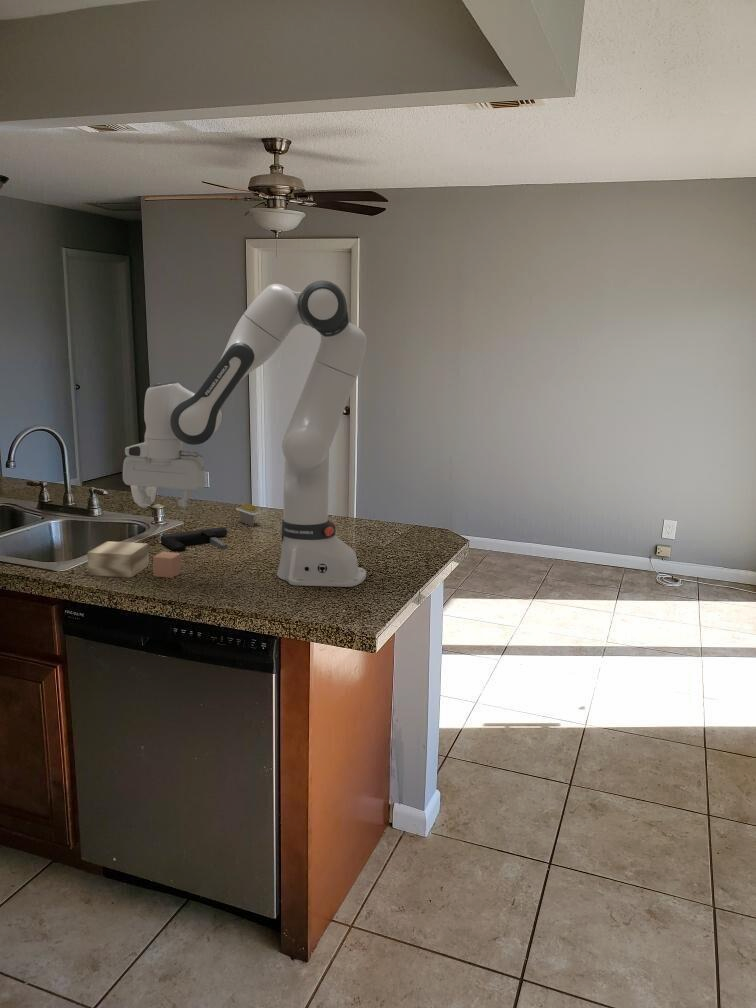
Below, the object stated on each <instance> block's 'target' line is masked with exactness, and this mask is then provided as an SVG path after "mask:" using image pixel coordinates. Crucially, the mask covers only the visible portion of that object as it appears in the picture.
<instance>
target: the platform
mask: <svg viewBox="0 0 756 1008" xmlns="http://www.w3.org/2000/svg"><path fill="white" fill-rule="evenodd" d="M256 508H257V507H256V505H254V504H250V503H248V502H244V503H241V506H238V507H235V509H236V510H237V511H239V513H240V514H239V515H240V516H239V522H240V523H242V524H244V523H245V524H244V525H247V524H248V525H247V526H249V527H252V526H253V528H254V526H255V524H254V523H255V522H254V521H255V520H254V519H255V517H254V516H255V515H257V514H260V510H259V509H256Z"/></svg>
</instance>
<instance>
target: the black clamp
mask: <svg viewBox="0 0 756 1008" xmlns="http://www.w3.org/2000/svg"><path fill="white" fill-rule="evenodd" d="M227 535H228V531H227V528H226V527H222V526H221V527H220V526H219V527H213V528H211V527H210V528H205V529H197V530H190V531H188V530H187V531H182V532H174V533H172V532H171V533H167V534H162V535H161V536H160V538H159V541H160V543H161V544H162V545H163V546H164V545H165V546H166V547H168V548H169V549H170V550H171V551H172V552H173V553H181V552H184V551H185V550H186V548H188V547H194V546H200V545H209V544H210V545H212V546H214V547H216V548H217V549H220V550H228V544H227V543H225V542H224V541H223V540H220V538H224V537H226V536H227Z"/></svg>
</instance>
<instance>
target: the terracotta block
mask: <svg viewBox="0 0 756 1008" xmlns="http://www.w3.org/2000/svg"><path fill="white" fill-rule="evenodd" d="M152 565H153V566H152V569H153V575H152V576H153V577H157V578H158V577H159V578H169V579H170V578H171V579H173V578H175V577H176V576H178V575H179V574H181V573H182V554H181V552H171V551H170V552H169V551H167V552H166V551H162V552H159V553H158V554H156V555H154V556H152ZM174 576H175V577H174Z"/></svg>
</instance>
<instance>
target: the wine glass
mask: <svg viewBox="0 0 756 1008" xmlns="http://www.w3.org/2000/svg"><path fill="white" fill-rule="evenodd" d="M157 489H158V488H157V487H147V489H145V491H146V493H147V495H148V496H151V503H150V504H142V497H141V495H140V494H139V492H138V490H137V486H134V485H130V490H131V496H132V499H133V500H134V503H135V504H137V505H138V507H140V508H144V509H146V508H148V507H150V505H151V504H153V503H154V502H155V498H156V495H157Z"/></svg>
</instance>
